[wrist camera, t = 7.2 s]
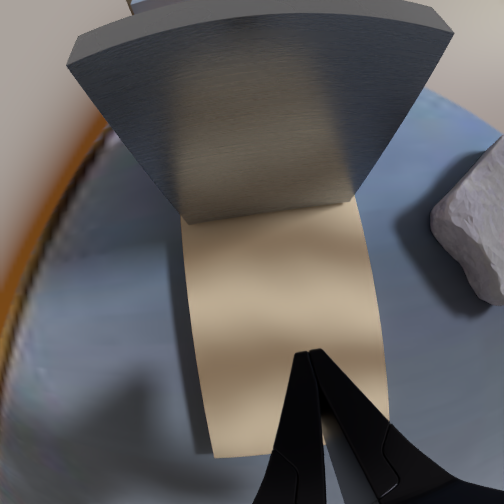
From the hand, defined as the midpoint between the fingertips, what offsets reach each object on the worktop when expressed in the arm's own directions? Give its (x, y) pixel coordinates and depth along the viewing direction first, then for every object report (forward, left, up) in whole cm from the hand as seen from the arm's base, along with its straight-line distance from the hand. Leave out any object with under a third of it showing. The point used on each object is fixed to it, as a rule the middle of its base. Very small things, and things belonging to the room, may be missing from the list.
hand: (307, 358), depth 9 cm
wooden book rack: (+4, +2, -8) cm, 9 cm away
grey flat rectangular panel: (+6, +4, -6) cm, 10 cm away
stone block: (+12, -13, -8) cm, 20 cm away
